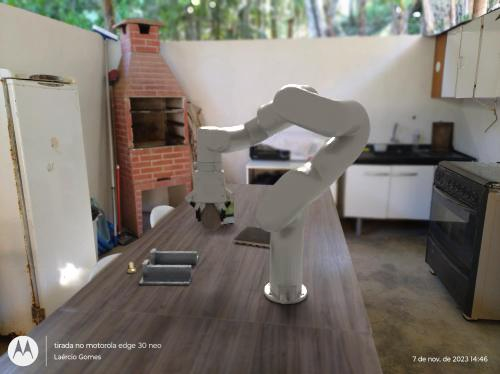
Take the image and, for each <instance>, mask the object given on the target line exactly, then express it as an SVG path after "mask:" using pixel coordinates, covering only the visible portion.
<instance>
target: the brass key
mask: <svg viewBox="0 0 500 374" xmlns="http://www.w3.org/2000/svg"><path fill="white" fill-rule="evenodd" d="M128 265H129V268H128V269H127V273H128V274H135V273H136V272H137V268H136V267H134V262H133V261H132V262H131V261H130V262H129V264H128Z"/></svg>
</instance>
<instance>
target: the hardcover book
mask: <svg viewBox="0 0 500 374" xmlns="http://www.w3.org/2000/svg"><path fill="white" fill-rule="evenodd" d="M270 233H271V232H267V231H265V230H263V229H262V228H260V227H259V226H257V227H256V226H250V225H249V226H246V227H245V228H244V229H242V231H240V233H238V234H237V235H236V236H235V237H234V238H233V240H234V243H235V242H238V243H237V244H242V243H246V244H245V245H249V244H252V245H251V246H256V245H258V247H263V246H265V248H270Z"/></svg>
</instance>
